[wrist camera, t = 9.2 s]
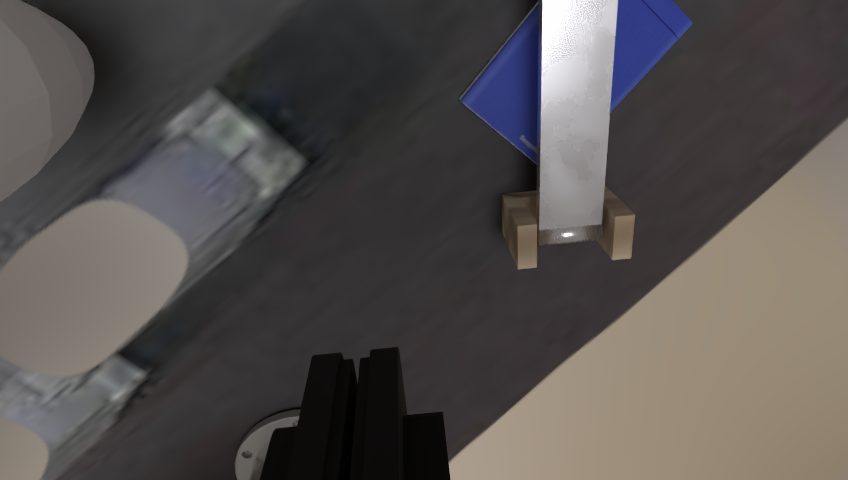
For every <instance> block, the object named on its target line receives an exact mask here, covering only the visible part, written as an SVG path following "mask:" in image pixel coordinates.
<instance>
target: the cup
mask: <svg viewBox="0 0 848 480" xmlns="http://www.w3.org/2000/svg"><path fill="white" fill-rule="evenodd" d="M93 86H94V62H93V60H92V58H91V56H90V53H89V51H88V49H87V47H86V45H85V44H84V43H83V42H82V41H81V40H80V39H79V38H78V36H77V35H76V34H75V33H74V32H73V31H72V30H70V29H69V28H68V27H67V26H65V25H64V24H63V23H61V22H59V21H58V20H56V19H54V18H53V17H51V16H49V15H48V14H46V13H44V12H42V11H41V10H39V9H37V8H35V7H33V6H31V5H29V4H27V3H25V2H23V1H21V0H0V201H2V200H3V199H5V198H6V197H8V196H9V195H11V194H12V193H13V192H14V191H16V190H17V189H18V188H20V187H21V186H22V185H23V184H25V183H26V182H27V181H29V180H30V179H31V178H32V177H34V176H35V175H36V174H38V173H39V171H40V170H41V169H42V168H43V167H44V166H45V165H46V164H47V162H48V161H49V160H50V159H51V158H52V157H53V156H54V155H55V153H56V152H57V151H58V150H59V149H60V148H61V147H62V146H63V144H64V143H65V142H66V141H67V140H68V139H69V138H70V137H71V135H72V134H73V132H74V130H75V128H76V126H77V124H78V122H79V120H80V118H81V116H82V114H83V112H84V110H85V108H86V106H87V103H88V101H89V99H90V96H91V94H92V91H93Z"/></svg>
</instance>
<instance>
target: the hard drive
mask: <svg viewBox="0 0 848 480" xmlns="http://www.w3.org/2000/svg"><path fill="white" fill-rule="evenodd" d="M692 24H693V23H692V22H691V20H690V19H689V18H688V17H687V16H686V14H685V13H684V12H683V11H682V10H681V9H680V8H679V7H678V6H677V5H676V4H675V3H674V2H673V0H618V7H617V21H616V35H615V49H614V63H613V77H612V91H611V104H610V112H611V111H612V110H613V109H614V108H615V107H616V106H617V105H618V104H619V103H620V102H621V101H622V100H623V99H624V97H625V96H626V95H627V94H628V93H629V92H630V91H631V90H632V89H633V88H634V87H635V86H636V85H637V83H638V82H639V81H640V80H641V79H642V78H643V77H644V76H645V75H646V74H647V73H648V72H649V71H650V69H651V68H652V67H653V66H654V65H655V64H656V63H657V62H658V61H659V60H660V59H661V57H662V56H663V55H664V54H665V53H666V52H667V51H668V50H669V49H670V48H671V47H672V45H673V44H674V43H675V42H676V41H677V40H678V39H679V38H680V37H681V36H682V35H683V34H684V33H685V32H686V31H687V30H688V28H689V27H690V26H691V25H692ZM538 38H539V1H538V2H537V3H536V5H535V6H534V7H533V8H532V9H531V11H530V12H529V13H528V14H527V16H526V17H525V18H524V19H523V20H522V22H521V23H520V24H519V25H518V27H517V28H516V29H515V30H514V32H513V33H512V34H511V35H510V36H509V38H508V39H507V40H506V41H505V43H504V44H503V45H502V46H501V48H500V49H499V50H498V51H497V53H496V54H495V55H494V56H493V57H492V59H491V60H490V61H489V62H488V64H487V65H486V66H485V67H484V69H483V70H482V71H481V72H480V73H479V75H478V76H477V77H476V78H475V80H474V81H473V82H472V83H471V85H470V86H469V87H468V88H467V89H466V91H465V92H464V93H463V94H462V96H461V97H460V98H459V100H460V101H461V102H462V103H463V104H464V105H465V106H466V107H468V108H469V109H470V110H471V111H472V112H474V113H475V114H476V115H477V116H478V117H480V118H481V119H482V120H483V121H484V122H486V123H487V124H488V125H489V126H490V127H492V128H493V129H494V130H495V131H496V132H498V133H499V134H500V135H501V136H503V137H504V138H505V139H506V140H507V141H509V142H510V143H511V144H512V145H513V146H515V147H516V148H517V149H518V150H519V151H521V152H522V153H523V154H524V155H526V156H527V157H528V158H529V159H530V160H532V161H533V162H534V163H535V164H536V165H537V121H538Z"/></svg>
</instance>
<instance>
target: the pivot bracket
mask: <svg viewBox="0 0 848 480" xmlns="http://www.w3.org/2000/svg"><path fill="white" fill-rule="evenodd" d="M501 197H502V233H503V236H504V238H505V240H506V243H507V245H508V247H509V250H510V252H511V254H512V257H513V259H514V261H515V264H516V266H517V268H518V269H526V268H537V223H536V204H537V191H527V192H517V193H506V194H501ZM634 220H635V214H634V213H633V212H632V211H631V210H630V209H629V208H627V207H626V206H625V205H624V204H623V203H622V202H621V201H620V200H619V199H618V198H617V197H616V196H615V195H614V194H613V193H612V192H611V191H610V190H609V189H608V188H607V187H606V186H605V188H604V202H603V215H602V227H603V237H602V239H601V240H598V243H599V244H600V245H601V246H602V248H603V249H604V250H605V252H606V253H607V254H608V255H609V257H610V258H611V259H612V260H619V259H629V258H631V252H632V242H633V231H634Z"/></svg>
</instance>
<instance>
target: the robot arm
mask: <svg viewBox="0 0 848 480" xmlns="http://www.w3.org/2000/svg"><path fill="white" fill-rule="evenodd" d="M235 475H236V478H237V480H450V473H449V464H448V455H447V446H446V437H445V428H444V419H443V412H434V413H424V414H414V415H407V409H406V401H405V393H404V386H403V378H402V370H401V362H400V354H399V348H398V347H393V348H382V349H372V350H371V351H370V357H367V358H361V359H360V366H359V378H358V384H357V378H356V372H355V367H354V362H353V359H347V360H344V359H343V355H342V353H332V354H321V355H314V356H312V359H311V364H310V368H309V373H308V378H307V382H306V387H305V392H304V396H303V401H302V406H301V409H299V410H291V411H286V412H281V413H278V414H276V415H273V416H270V417H268V418H266V419H264V420H263V421H261V422H259V423H258V424H256V425H255V426H254V427H253V428H252V429H251V430H250V431H249V432H248V433H247V434H246V436H245V437H244V439H243V440H242V441H241V444H240V447H239V449H238V452H237V456H236V460H235Z"/></svg>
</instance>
